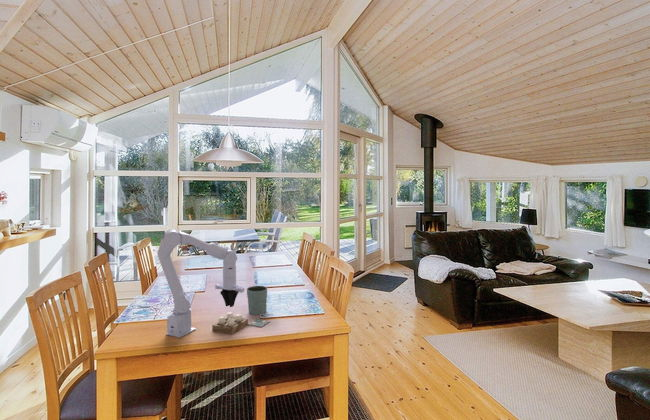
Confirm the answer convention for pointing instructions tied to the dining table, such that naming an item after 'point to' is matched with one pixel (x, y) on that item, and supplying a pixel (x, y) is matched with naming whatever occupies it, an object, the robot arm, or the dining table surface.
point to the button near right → (230, 322)
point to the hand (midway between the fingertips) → (229, 306)
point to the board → (227, 329)
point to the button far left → (229, 315)
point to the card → (259, 323)
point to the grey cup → (257, 299)
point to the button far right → (238, 318)
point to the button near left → (221, 320)
